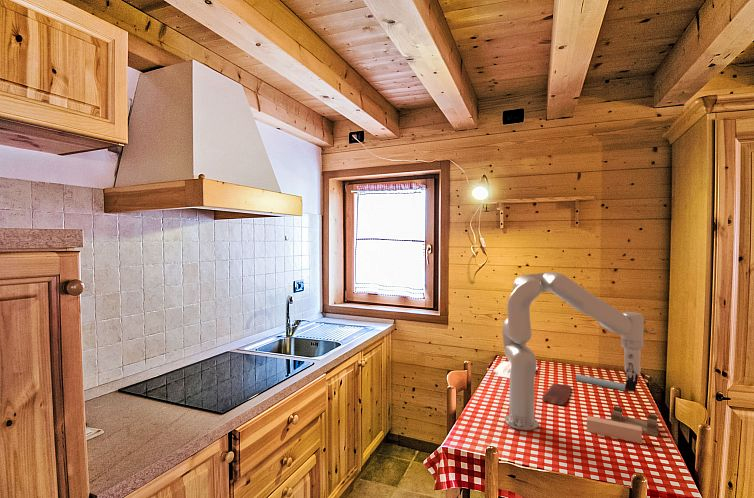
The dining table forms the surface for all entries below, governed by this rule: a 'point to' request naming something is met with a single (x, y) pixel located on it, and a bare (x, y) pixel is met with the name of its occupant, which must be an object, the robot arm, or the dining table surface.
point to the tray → (504, 369)
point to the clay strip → (614, 429)
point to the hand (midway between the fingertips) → (631, 386)
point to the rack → (637, 421)
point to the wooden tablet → (557, 394)
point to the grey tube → (601, 382)
